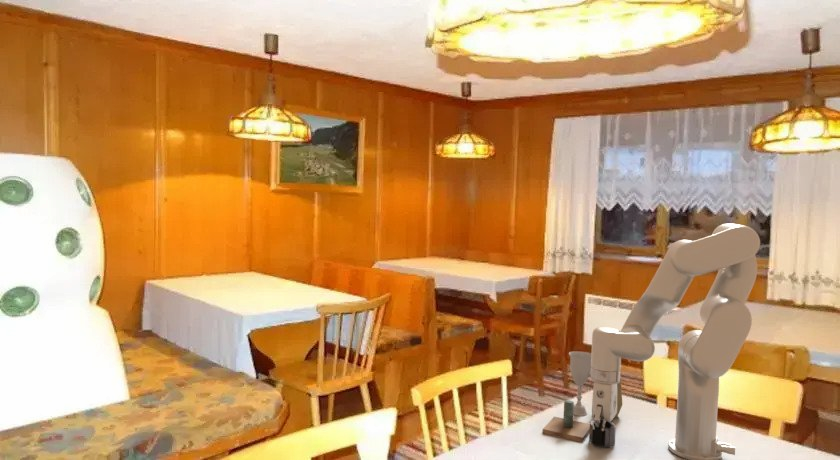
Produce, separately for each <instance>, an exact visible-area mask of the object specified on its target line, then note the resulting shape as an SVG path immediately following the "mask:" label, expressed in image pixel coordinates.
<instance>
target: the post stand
mask: <svg viewBox="0 0 840 460" xmlns="http://www.w3.org/2000/svg"><path fill="white" fill-rule="evenodd" d="M563 401H564V402H563V418H562V417H559V416H558V417H557V416H553V417H552V419H550V420H549V422H547V424H546V425H545V426H544V427H543V428H542V434H545V435H549V436H554V437H557V438H558V437H559V438H563V439H567V440H572V441H576V442H581V443H584V441H585V440H586V439H587V437H588V436H589V434H590V423H588V422H583V421H577V420H574V415H573V410H574V404H575V403H574V401H573V400H566V399H565V400H563Z"/></svg>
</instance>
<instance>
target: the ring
mask: <svg viewBox="0 0 840 460" xmlns="http://www.w3.org/2000/svg"><path fill="white" fill-rule="evenodd" d="M593 423H594V419H593V420H591V421H590V422H589V424H590V433H589V434H588V436H589V437H588V439H589V440H588V442H589V443H590V444H591V445H593V446H594V447H598V448H603V449H604V448H605V449H607V448H608V449H609V448H613V447H615V446H616V433H617V432H616V431H617V430H616V429H617V427H616V424H614V423H612V422H608V421H606V423H605V429H604V431H606V434H605V446H599V445H595V444H592V432H593ZM600 423H601V424H602V423H603V422H601V421H600Z"/></svg>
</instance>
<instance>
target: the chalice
mask: <svg viewBox="0 0 840 460" xmlns="http://www.w3.org/2000/svg"><path fill="white" fill-rule="evenodd" d="M591 353H592V352H588V351H578V350H576V351H574V350H573V351H569V352H568V355H569V357H570V358H569V359H570V361H569V363H570V364H569V371H570V374H571V377H572V379H573V382H574V383H575V384H576V385H577V389H576V392H577V395H576V399H577V401H576V403H574V410H573V416H576V417H577V416H578V417H583V416H587V415H588V412H587V410H586V407H585V405H584V404H583V403H582V402H581V401H582V398H583V396H582V392H583V390H582V386H583V385H585V384H586V383H587V381H588V380H589V378H590V374H591Z"/></svg>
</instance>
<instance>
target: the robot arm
mask: <svg viewBox="0 0 840 460" xmlns="http://www.w3.org/2000/svg"><path fill="white" fill-rule="evenodd" d="M760 246H761V239H760V237H759V234H758V233H757V232H756V231H755V229H753V228H752V227H750V226H749V225H748V226H747V225H743V224H739V223H723V224H720V225H718V226H716V227H715V228H714V230H713V231H712V234H711V235H707V236H705V237H702V238H699V239H696V240H690V239H679V240H677V241H674V242H673V243H672V244H671V245H670V246H669V248H668V250H667V252H666V253H665V255H664V257H663V259H662V261H661V263H660V264H659V267H658V268H657V270H656V272H655V273H654V275H653V277H652V279H651V281H650V283H649V284H648V286H647V288H646V289H645V291H644V292H643V293H642V295H641V297H640V298H639V299H638V301H637V302H636V303H635V305H634V306H633V308H632V310H630V313H629V315H628V316H627V318H626V320H625V322H624V323H623V325H622V328H621V329H620V330H619V329H618V328H614V327H609V326H599V327H595V328H594V329H593V331H592V335H591V336H592V338H591V352H590V353H591V373H590V375H589V378H590V380H591V381H593V388H592V399H591V401H592V403H591V417H592V419H593V420H594V423H593V432H592V444H591V445H593V444H595V445H599V446H605V434H606V431H604V429H605V423H606V421H608V422H612V423H613V422H614V421H613V419H614V417H615V415H616V413H617V383H619V382H620V378H621V370H622V369H621V368H622V367H621V366H622V359H625V360H629V361H634V362H645V361H648V360H649V359H651V358H652V357H653V356H654V354H655V350H656V348H655V342H654V340H653V339H652V338H651V336H652V333H653V332H654V330H655V328H656V326H657V324H658V323H659V322H660V320H662V318H663V316H665V315H666V314H667V313H668V312H671V311H672V310H673V309H675V308H677V307H678V306H679V304H681V301H682V300H683V298H684V296H685V294H686V292H687V290H688V288H689V286H690V285H691V284H692V282H693V280H694V278H695V277H696V276H697V277H698V276H703V275H706V274H709V273H712V272H716V271H717V273H716V276H715V279H714V281H713V283H712V284H711V287H710V289H709V291H708V293H707V295H706V297H705V298H704V301H703V303H702V304H701V306H700V310H699V316H700V319H701V321H702V322H703V324H704V326H703V328H702V329H701V330H700V329H692V330H690V331H688V332H686V333H685V334H684V335H683V336H682V337H681V339H680V340H679V342H678V347H677V359H678V360H677V361H678V364H677V365H678V380H677V381H678V383H677V384H678V385H677V396H676V397H677V399H676V400H677V401H676V419H675V437H674V438H672V439H671V440H669V441H668V443H667V446H668V450H670V452H672V453H673V454H674V455H676V456H679V457H680V458H683V459H686V460H721V459H722V457H723V453H725V454H728V455H732V456H735V455H736V447H735V446H732V445H731V443H729V442H728V443H727V442H722V441H721V440H718V437H719V435H717V426H718V411H719V410H718V409H719V408H718V407H719V397H720V396H719V395H720V394H719V393H720V392H719V391H720V377H722V376H725V374H727V372H728V371H729V370H730V369H731V367H732V366H733V364H734V362H735V361H736V359H737V357H738V355H739V353H740V351H741V349H742V348H743V345H744V343H745V342H746V340H747V337H748V335H749V333H750V331H751V327H752V320H753V319H752V313H751V311H750V309H749V308H748V307H747V305H746V302H747V301H748V299H749V296H750V294H751V291H752V289H753V287H754V285H755V283H756V279H757V276H758V261H757V257H756V254H757V253H758V251H759V249H760ZM600 421H601V422H603V423H602V424H601V423H600ZM595 445H594V446H595Z"/></svg>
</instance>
